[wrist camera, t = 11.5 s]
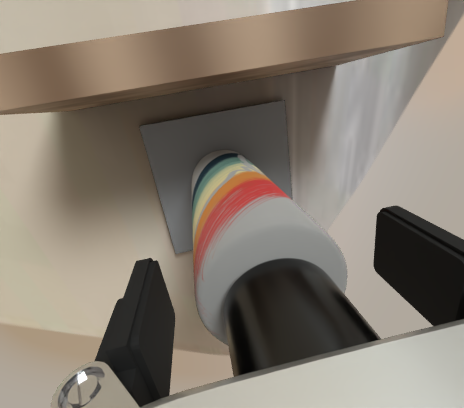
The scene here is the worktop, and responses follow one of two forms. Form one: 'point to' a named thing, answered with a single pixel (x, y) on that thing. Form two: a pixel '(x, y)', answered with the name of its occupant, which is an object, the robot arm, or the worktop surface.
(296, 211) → the lotion bottle
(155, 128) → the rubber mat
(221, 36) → the brown wooden board
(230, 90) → the worktop surface
